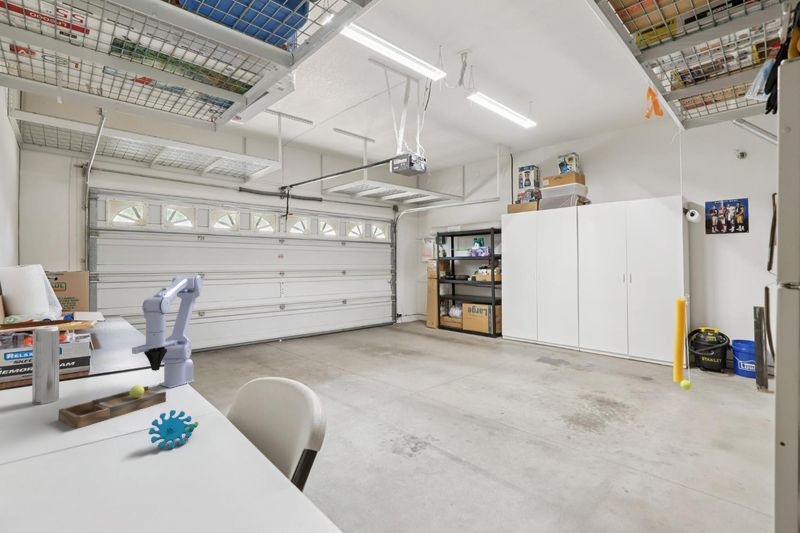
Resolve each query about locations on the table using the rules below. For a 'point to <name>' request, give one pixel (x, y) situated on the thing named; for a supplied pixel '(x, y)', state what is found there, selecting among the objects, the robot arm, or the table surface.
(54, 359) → the silver metal cylinder
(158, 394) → the wooden tray
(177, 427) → the gear
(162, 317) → the robot arm
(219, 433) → the table surface
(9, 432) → the table surface
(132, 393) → the ball
